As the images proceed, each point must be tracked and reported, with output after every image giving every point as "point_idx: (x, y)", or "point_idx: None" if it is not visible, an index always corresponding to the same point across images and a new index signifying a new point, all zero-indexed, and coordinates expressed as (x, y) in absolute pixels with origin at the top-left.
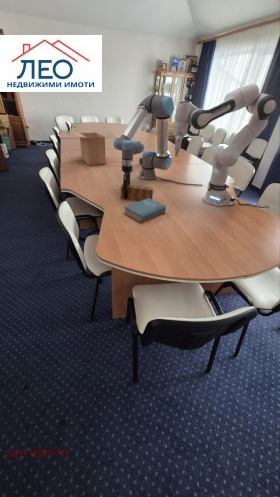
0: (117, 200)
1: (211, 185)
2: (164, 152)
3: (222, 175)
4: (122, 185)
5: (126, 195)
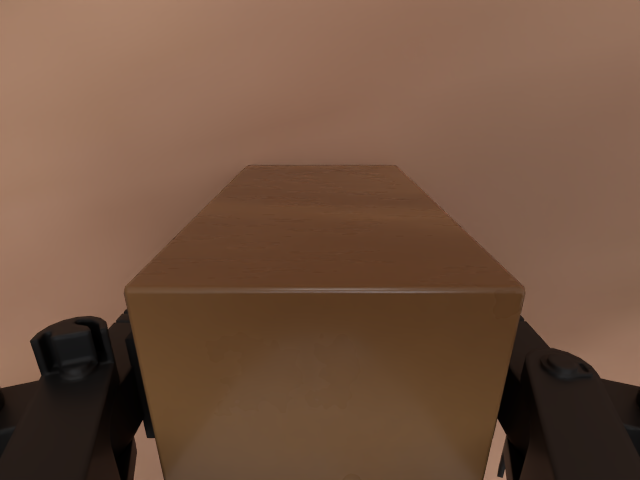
0: (115, 119)
1: None
2: None
3: None
4: (294, 321)
5: None
